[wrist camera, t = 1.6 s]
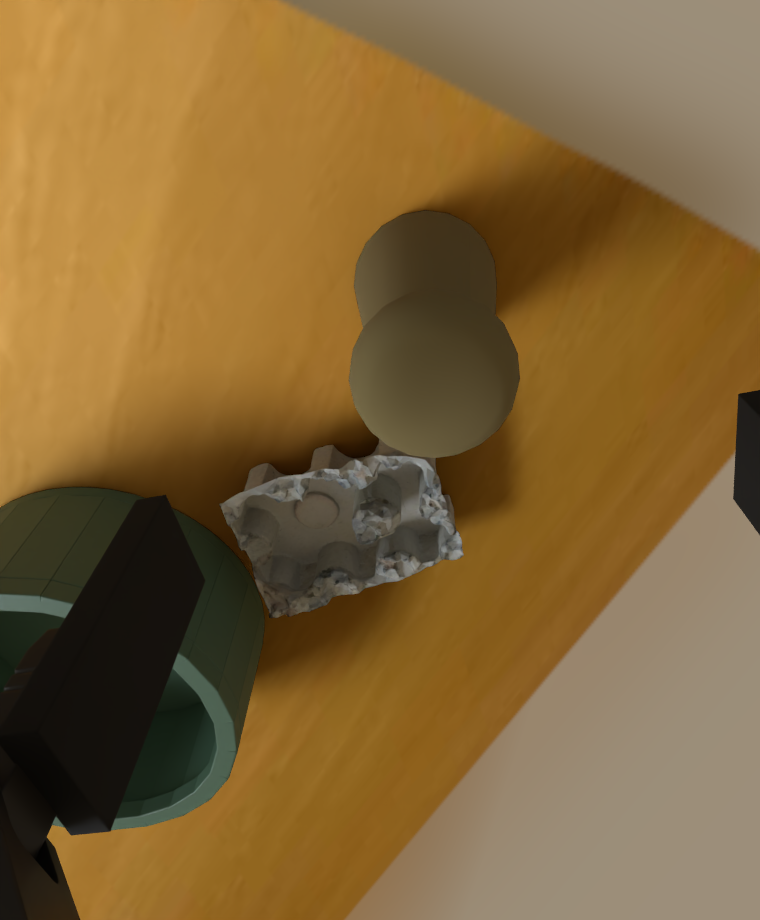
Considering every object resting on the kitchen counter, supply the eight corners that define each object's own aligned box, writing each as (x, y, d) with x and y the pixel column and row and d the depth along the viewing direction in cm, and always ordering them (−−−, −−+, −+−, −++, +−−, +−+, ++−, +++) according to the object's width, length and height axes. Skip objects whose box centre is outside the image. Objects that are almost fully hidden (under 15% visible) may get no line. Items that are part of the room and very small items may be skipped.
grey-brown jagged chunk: (275, 571, 38) (261, 626, 34) (222, 459, 34) (201, 508, 30) (464, 535, 36) (470, 588, 32) (431, 412, 32) (434, 458, 29)
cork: (409, 376, 31) (412, 520, 22) (324, 270, 29) (287, 381, 19) (523, 298, 29) (581, 420, 20) (443, 177, 27) (465, 251, 17)
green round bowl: (-99, 515, 36) (-216, 625, 29) (203, 460, 34) (153, 565, 27) (51, 722, 45) (-12, 843, 38) (300, 689, 42) (280, 813, 36)
